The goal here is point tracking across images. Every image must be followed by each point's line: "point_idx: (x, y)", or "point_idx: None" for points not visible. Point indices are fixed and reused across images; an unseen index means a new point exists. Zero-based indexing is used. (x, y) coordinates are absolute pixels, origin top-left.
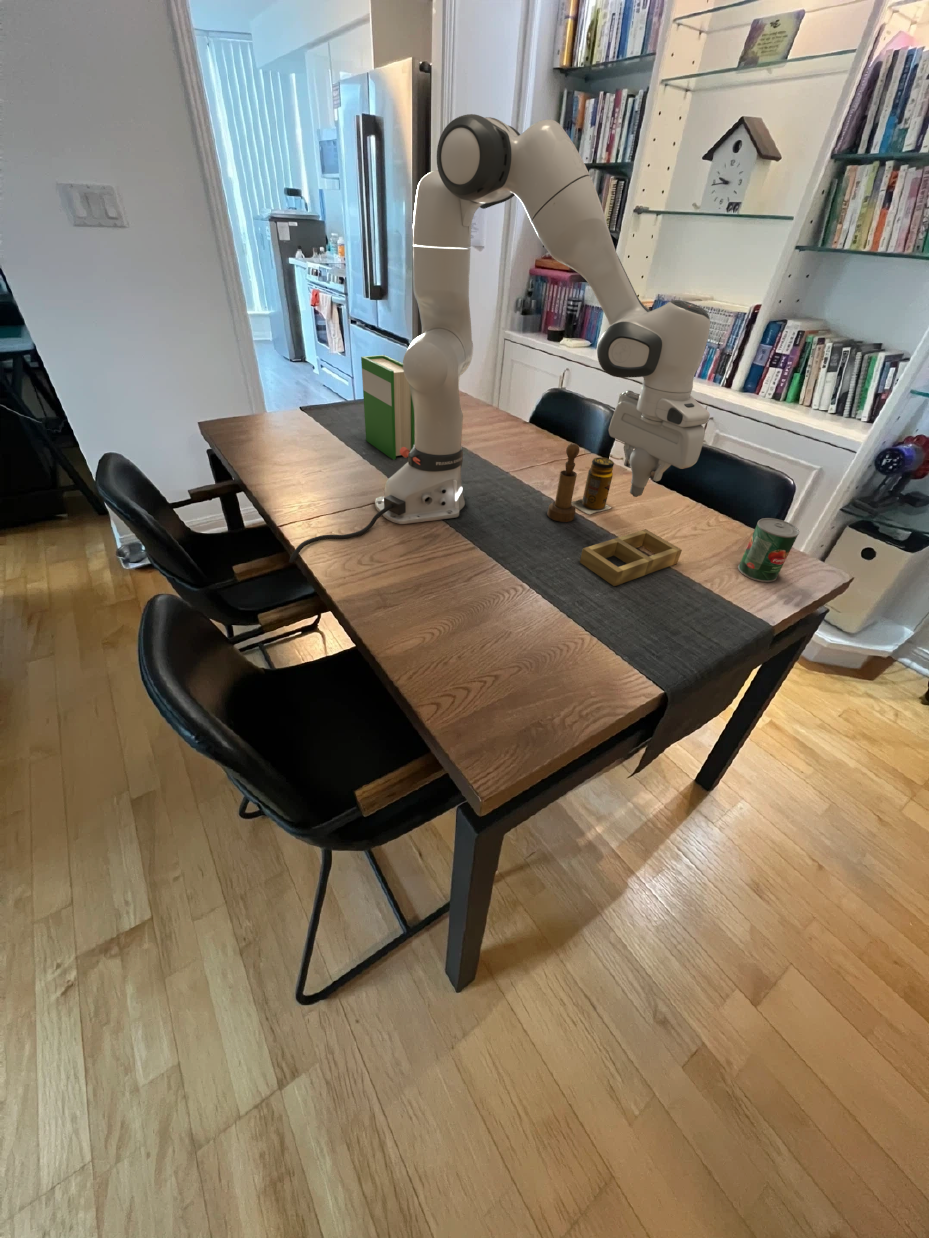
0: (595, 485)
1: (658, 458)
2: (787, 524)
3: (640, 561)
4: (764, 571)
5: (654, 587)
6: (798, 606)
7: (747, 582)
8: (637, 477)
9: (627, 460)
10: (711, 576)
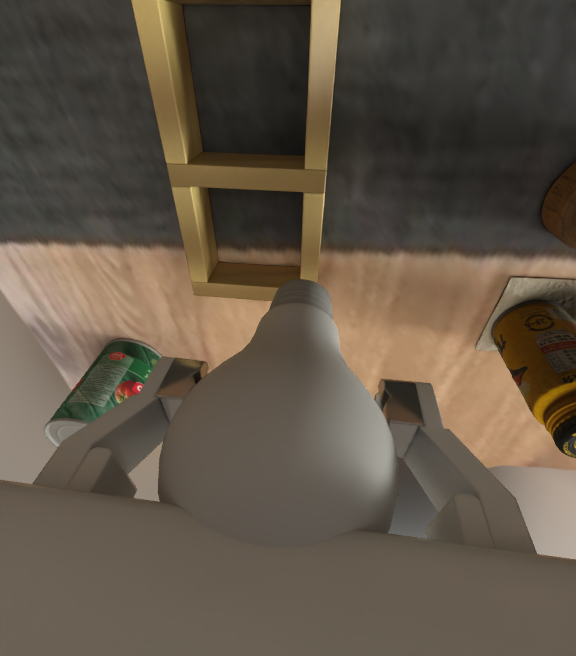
0: (561, 355)
1: (68, 492)
2: None
3: (170, 132)
4: (97, 358)
5: (123, 123)
6: (29, 329)
7: (109, 325)
8: (273, 332)
9: (417, 414)
10: (141, 291)
